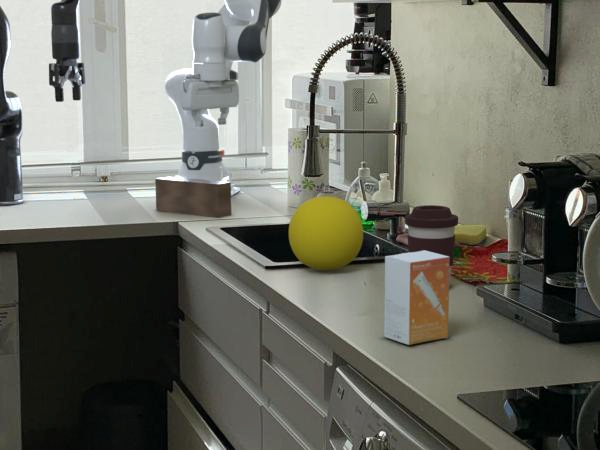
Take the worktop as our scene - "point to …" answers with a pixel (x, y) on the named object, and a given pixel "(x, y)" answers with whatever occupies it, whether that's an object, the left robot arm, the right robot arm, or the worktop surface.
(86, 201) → the worktop surface
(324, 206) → the toy
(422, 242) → the coffee cup
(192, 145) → the right robot arm
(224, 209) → the bar
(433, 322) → the small box
